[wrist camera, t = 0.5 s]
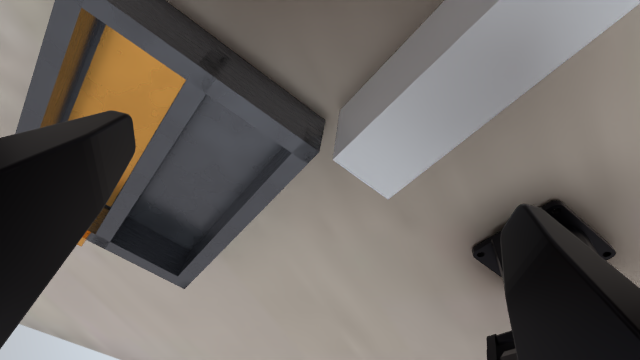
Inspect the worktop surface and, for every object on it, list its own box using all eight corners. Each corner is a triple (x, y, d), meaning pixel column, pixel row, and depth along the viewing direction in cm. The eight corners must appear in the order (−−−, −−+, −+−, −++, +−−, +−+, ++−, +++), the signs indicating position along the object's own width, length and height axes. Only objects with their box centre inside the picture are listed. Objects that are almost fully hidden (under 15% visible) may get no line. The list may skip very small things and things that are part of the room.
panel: (584, -34, 16) (650, -6, 13) (385, 144, 23) (387, 199, 19) (534, -96, 15) (589, -87, 11) (339, 108, 22) (332, 159, 18)
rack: (325, 120, 22) (317, 158, 19) (199, 255, 31) (181, 295, 28) (106, -43, 18) (54, -28, 15) (32, 164, 27) (-11, 201, 24)
